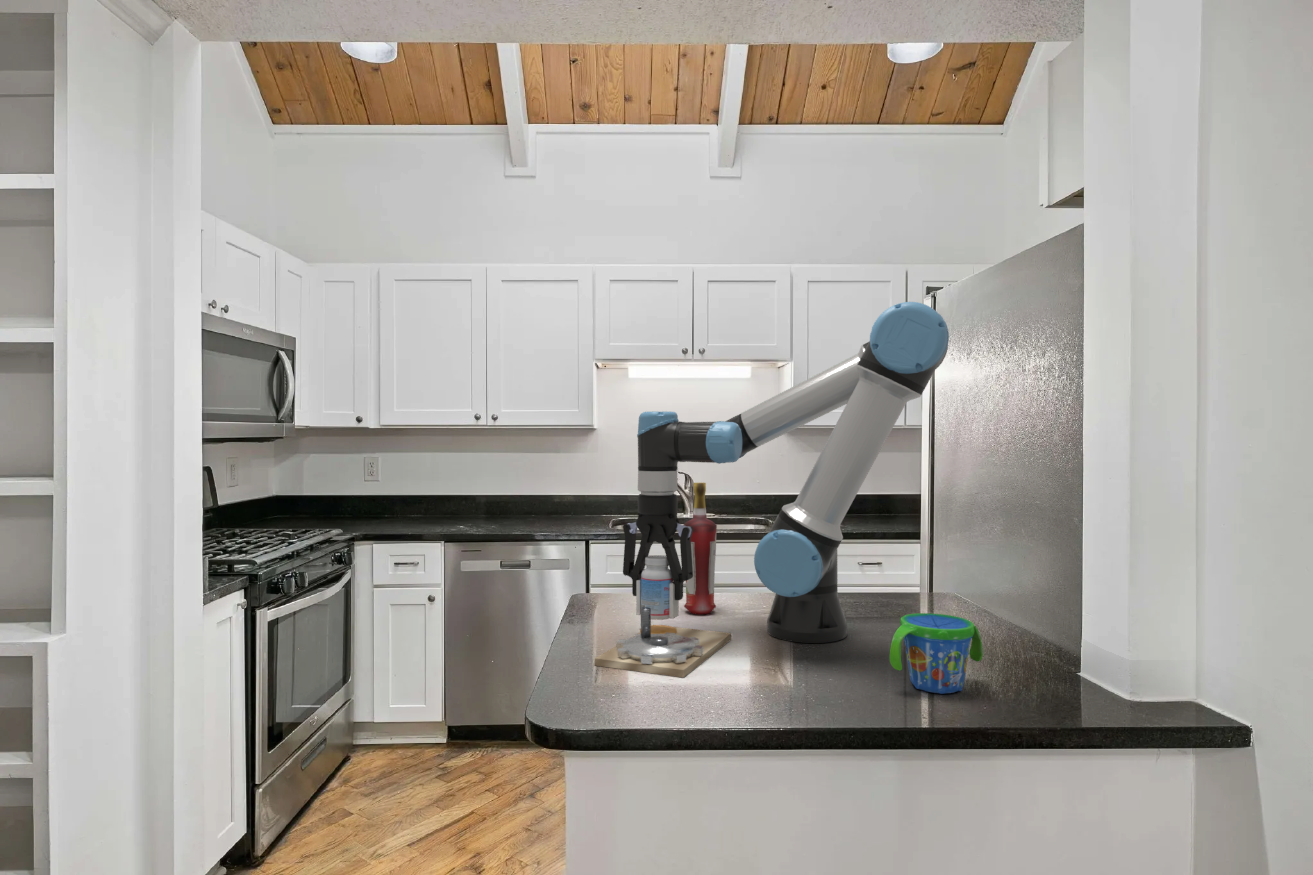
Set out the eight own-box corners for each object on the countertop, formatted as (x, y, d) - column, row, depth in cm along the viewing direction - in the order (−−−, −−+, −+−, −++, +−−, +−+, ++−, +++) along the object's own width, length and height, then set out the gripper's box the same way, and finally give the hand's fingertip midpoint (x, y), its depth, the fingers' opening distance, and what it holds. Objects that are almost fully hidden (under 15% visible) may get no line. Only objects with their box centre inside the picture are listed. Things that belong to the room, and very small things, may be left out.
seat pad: (682, 629, 144) (682, 627, 144) (667, 638, 138) (667, 636, 138) (649, 625, 147) (649, 623, 147) (633, 634, 141) (633, 632, 141)
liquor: (680, 608, 166) (680, 481, 166) (713, 607, 167) (713, 481, 167) (685, 616, 159) (685, 484, 159) (720, 615, 160) (719, 483, 160)
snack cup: (960, 672, 121) (960, 609, 121) (1004, 694, 111) (1004, 625, 111) (872, 680, 118) (872, 615, 118) (909, 703, 107) (909, 632, 107)
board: (731, 639, 141) (731, 633, 141) (683, 677, 119) (683, 670, 119) (653, 630, 148) (653, 624, 148) (594, 665, 126) (594, 658, 126)
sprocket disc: (720, 656, 126) (719, 618, 126) (640, 670, 119) (640, 629, 119) (675, 635, 139) (675, 600, 139) (601, 646, 132) (601, 610, 132)
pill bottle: (671, 621, 139) (672, 560, 139) (639, 620, 140) (639, 559, 140) (674, 613, 145) (674, 555, 145) (642, 612, 146) (643, 554, 146)
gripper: (712, 493, 142) (711, 615, 142) (621, 490, 150) (621, 606, 150) (697, 496, 135) (697, 625, 135) (603, 492, 143) (603, 614, 143)
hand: (657, 614), depth 142 cm, fingers closed on pill bottle, 6 cm apart
